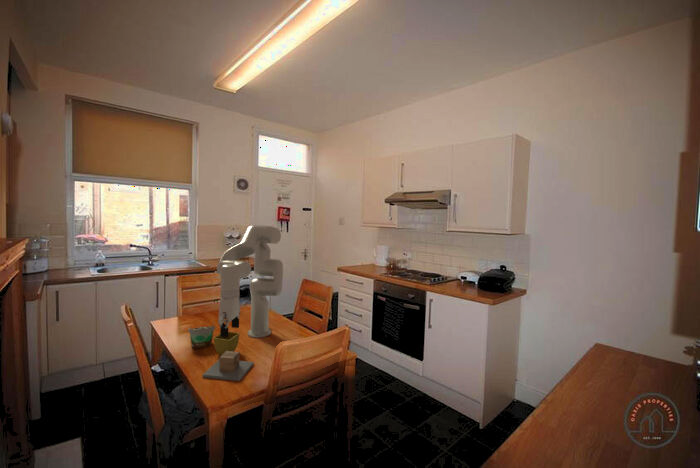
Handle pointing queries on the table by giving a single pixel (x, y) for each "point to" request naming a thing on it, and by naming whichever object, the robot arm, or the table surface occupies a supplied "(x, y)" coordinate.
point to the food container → (201, 337)
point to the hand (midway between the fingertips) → (230, 331)
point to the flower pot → (226, 342)
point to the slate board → (235, 375)
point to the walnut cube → (229, 361)
